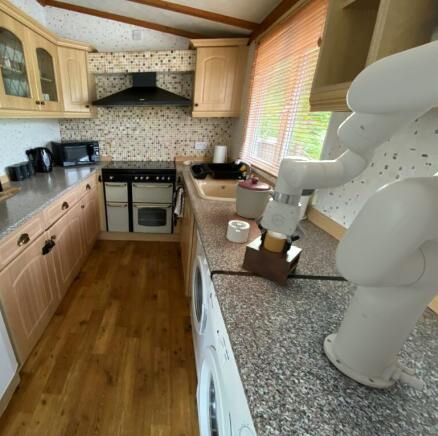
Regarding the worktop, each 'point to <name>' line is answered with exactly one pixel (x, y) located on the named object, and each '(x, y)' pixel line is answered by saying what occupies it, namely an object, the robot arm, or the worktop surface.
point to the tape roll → (275, 241)
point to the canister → (251, 198)
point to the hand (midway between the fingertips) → (274, 246)
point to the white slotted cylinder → (238, 231)
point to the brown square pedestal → (270, 261)
